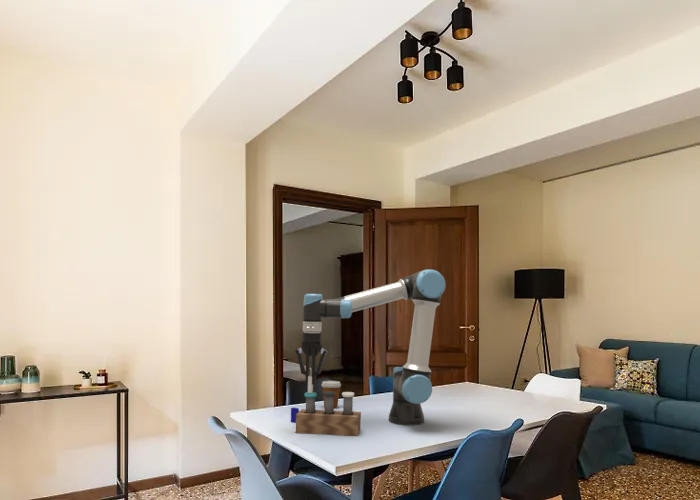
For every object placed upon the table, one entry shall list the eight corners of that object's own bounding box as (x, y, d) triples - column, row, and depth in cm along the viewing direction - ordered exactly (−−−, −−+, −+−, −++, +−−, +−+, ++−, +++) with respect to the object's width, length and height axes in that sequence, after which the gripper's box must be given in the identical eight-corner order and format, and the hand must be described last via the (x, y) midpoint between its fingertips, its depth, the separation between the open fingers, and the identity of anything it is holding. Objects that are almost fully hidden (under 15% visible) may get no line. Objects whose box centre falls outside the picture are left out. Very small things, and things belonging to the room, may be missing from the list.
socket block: (360, 429, 207) (360, 411, 207) (357, 436, 197) (357, 417, 198) (301, 426, 210) (302, 409, 211) (295, 432, 200) (296, 414, 201)
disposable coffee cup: (332, 410, 243) (332, 384, 244) (316, 407, 249) (317, 382, 250) (344, 407, 251) (345, 382, 252) (329, 404, 256) (329, 380, 258)
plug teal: (317, 415, 207) (317, 392, 208) (314, 418, 202) (315, 394, 203) (305, 414, 208) (306, 391, 209) (302, 417, 203) (303, 393, 204)
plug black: (335, 414, 206) (336, 391, 207) (333, 417, 201) (334, 393, 202) (324, 414, 207) (324, 390, 208) (321, 416, 202) (322, 392, 203)
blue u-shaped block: (298, 424, 216) (298, 409, 216) (290, 422, 218) (291, 407, 219) (317, 419, 225) (318, 405, 226) (310, 417, 228) (310, 403, 228)
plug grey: (354, 415, 205) (355, 392, 206) (353, 418, 200) (353, 394, 201) (342, 414, 206) (343, 391, 207) (340, 417, 201) (341, 393, 202)
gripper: (293, 332, 206) (291, 393, 203) (326, 333, 204) (324, 394, 201) (298, 331, 213) (296, 390, 211) (329, 332, 211) (328, 391, 209)
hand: (310, 392), depth 206 cm, fingers closed
